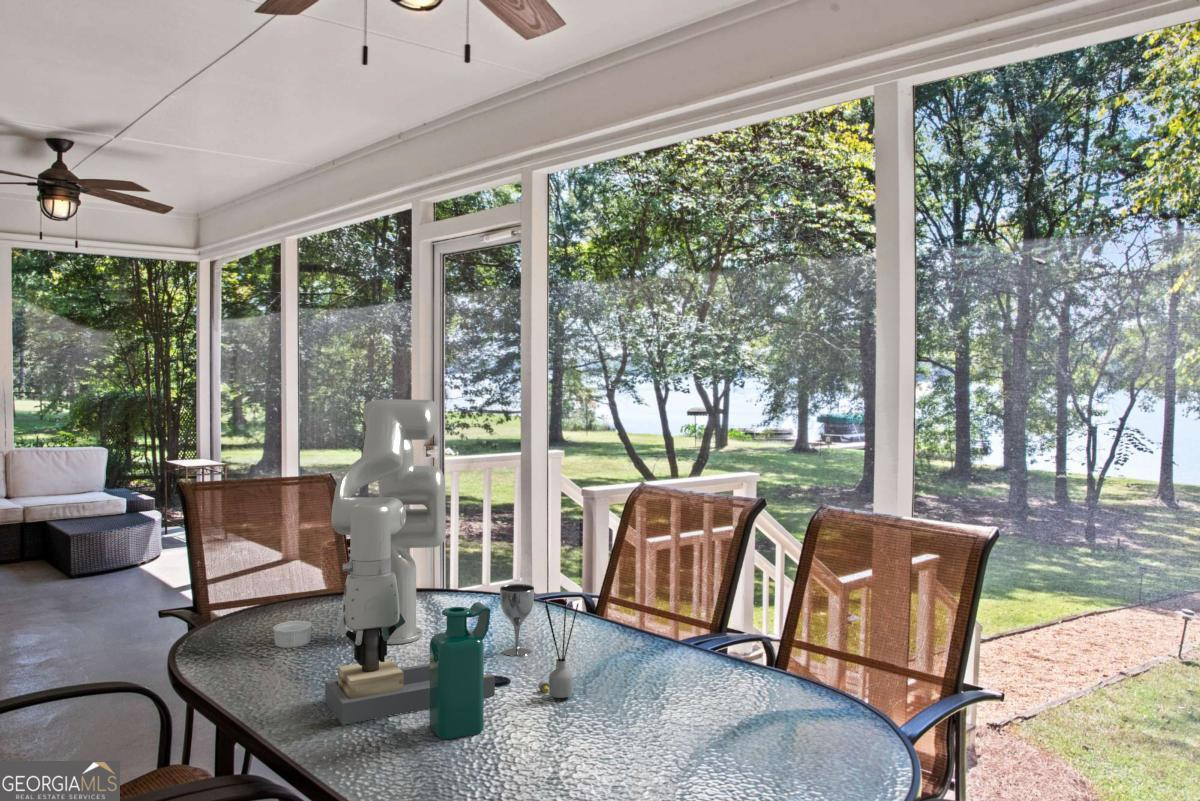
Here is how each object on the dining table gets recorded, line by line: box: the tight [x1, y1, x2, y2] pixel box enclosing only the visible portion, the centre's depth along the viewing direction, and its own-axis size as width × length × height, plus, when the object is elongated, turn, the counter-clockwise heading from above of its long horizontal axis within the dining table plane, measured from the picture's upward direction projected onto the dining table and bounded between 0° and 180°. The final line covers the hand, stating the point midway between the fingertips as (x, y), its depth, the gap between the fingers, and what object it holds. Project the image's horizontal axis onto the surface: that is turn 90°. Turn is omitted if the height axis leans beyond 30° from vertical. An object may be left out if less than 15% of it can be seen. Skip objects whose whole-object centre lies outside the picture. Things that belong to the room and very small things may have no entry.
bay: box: [324, 662, 496, 726], centre depth 169 cm, size 14×30×4 cm, turn 120°
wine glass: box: [499, 583, 535, 657], centre depth 199 cm, size 8×8×15 cm
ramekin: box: [272, 620, 313, 649], centre depth 205 cm, size 9×9×4 cm
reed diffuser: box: [538, 596, 579, 699], centre depth 169 cm, size 10×7×20 cm
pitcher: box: [429, 601, 491, 740], centre depth 154 cm, size 10×8×22 cm
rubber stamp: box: [337, 628, 404, 699], centre depth 165 cm, size 10×10×14 cm
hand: (370, 661), depth 165 cm, fingers closed on rubber stamp, 3 cm apart
